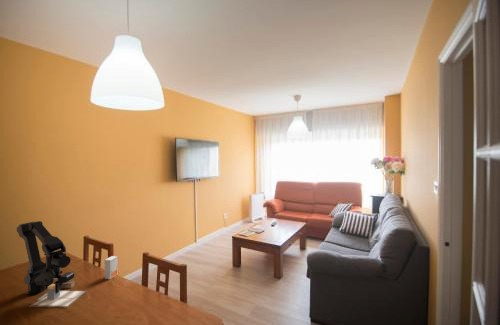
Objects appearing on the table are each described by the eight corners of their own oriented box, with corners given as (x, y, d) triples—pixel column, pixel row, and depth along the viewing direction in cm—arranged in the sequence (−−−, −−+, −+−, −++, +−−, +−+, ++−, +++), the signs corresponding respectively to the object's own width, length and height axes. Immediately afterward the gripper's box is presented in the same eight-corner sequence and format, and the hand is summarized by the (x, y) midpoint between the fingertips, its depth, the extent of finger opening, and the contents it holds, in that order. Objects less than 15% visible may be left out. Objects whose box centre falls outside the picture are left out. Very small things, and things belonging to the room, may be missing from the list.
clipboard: (28, 306, 116) (28, 304, 116) (53, 290, 130) (53, 288, 130) (67, 307, 115) (67, 305, 115) (87, 291, 129) (87, 289, 129)
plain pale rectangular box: (57, 288, 132) (57, 284, 132) (61, 285, 135) (61, 281, 135) (71, 287, 133) (71, 283, 133) (74, 284, 136) (74, 280, 136)
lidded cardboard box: (47, 299, 121) (47, 286, 121) (53, 294, 124) (53, 283, 124) (54, 299, 121) (53, 287, 121) (60, 295, 124) (59, 283, 124)
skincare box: (110, 279, 142) (110, 260, 141) (104, 278, 143) (104, 259, 142) (117, 274, 148) (117, 256, 147) (112, 274, 148) (111, 255, 148)
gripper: (20, 271, 115) (21, 302, 115) (56, 271, 114) (57, 302, 114) (41, 261, 126) (42, 289, 126) (74, 261, 125) (75, 289, 125)
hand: (53, 292), depth 123 cm, fingers closed on lidded cardboard box, 4 cm apart
